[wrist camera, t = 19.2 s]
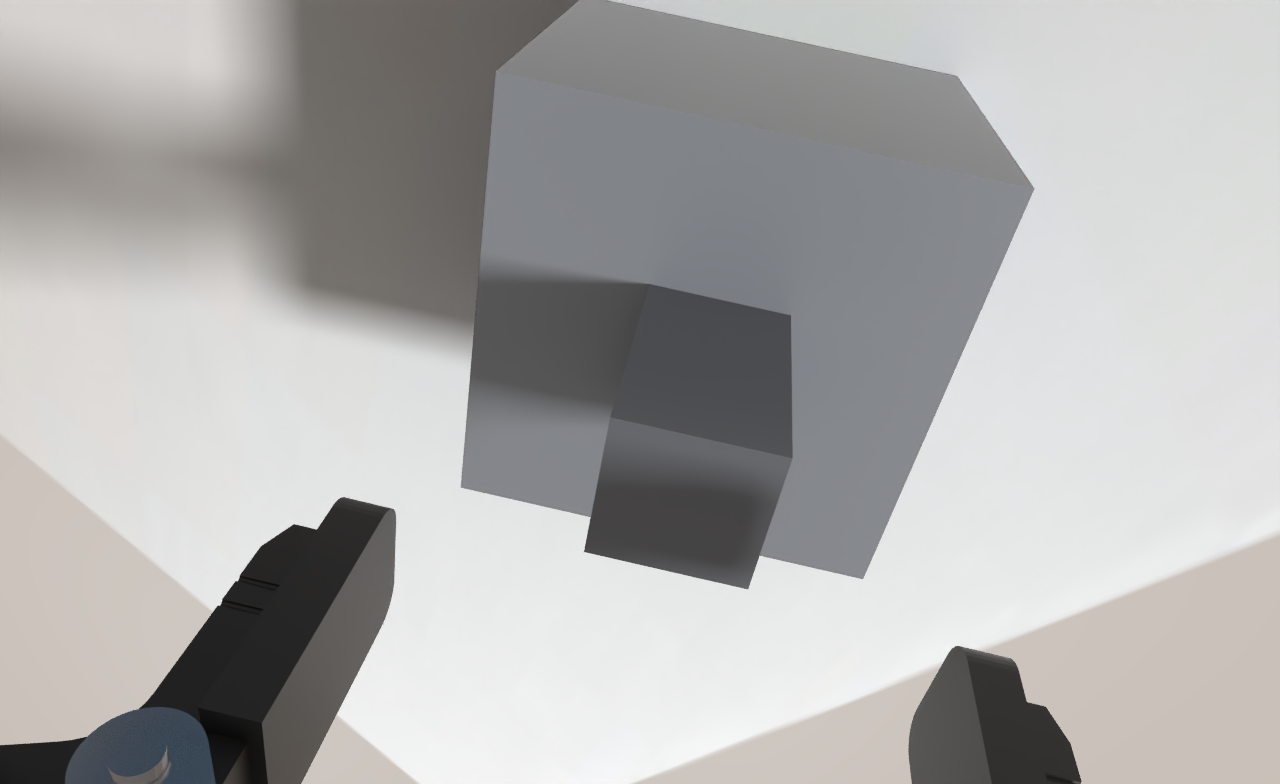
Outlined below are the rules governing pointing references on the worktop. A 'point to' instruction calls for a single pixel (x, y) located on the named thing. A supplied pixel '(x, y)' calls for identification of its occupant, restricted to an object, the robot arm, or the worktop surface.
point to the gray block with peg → (724, 286)
